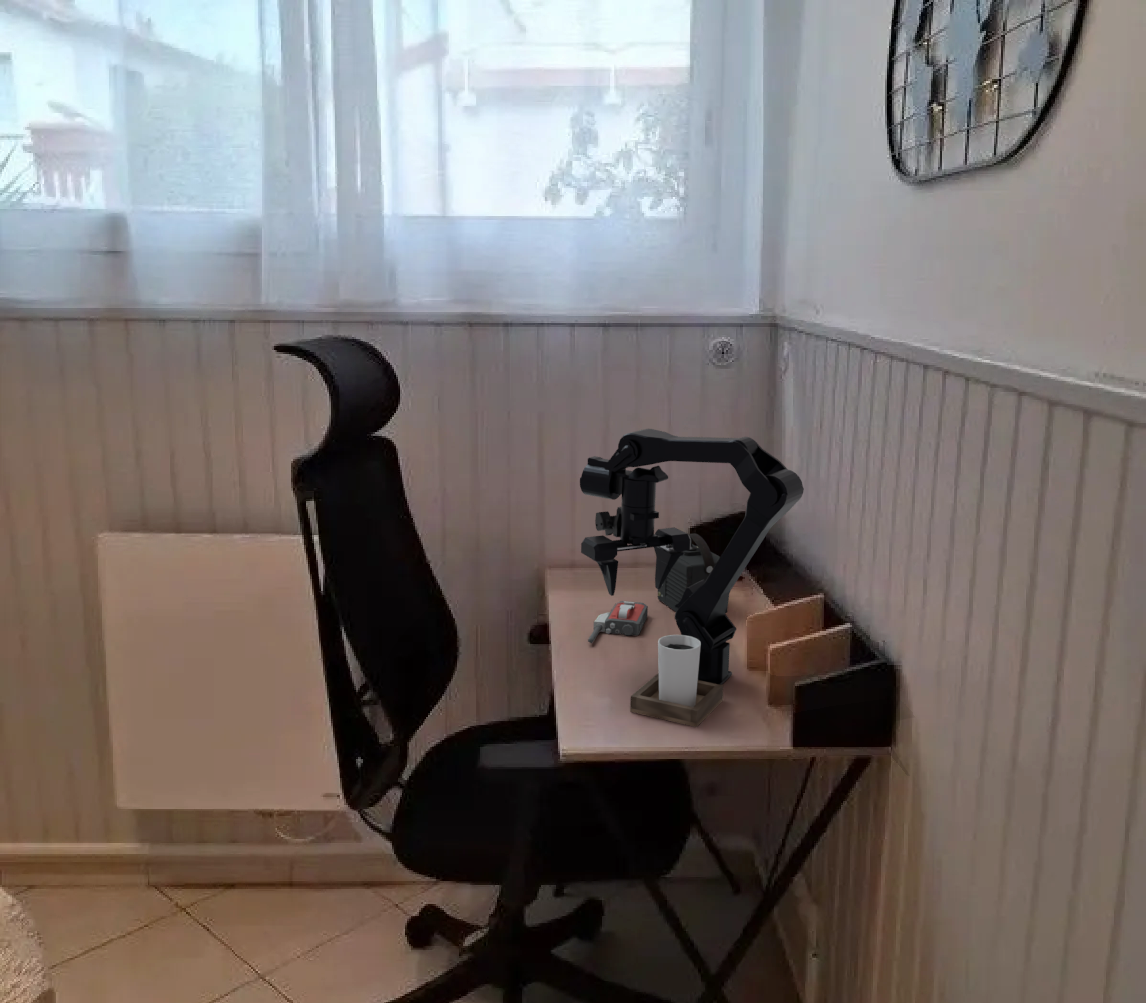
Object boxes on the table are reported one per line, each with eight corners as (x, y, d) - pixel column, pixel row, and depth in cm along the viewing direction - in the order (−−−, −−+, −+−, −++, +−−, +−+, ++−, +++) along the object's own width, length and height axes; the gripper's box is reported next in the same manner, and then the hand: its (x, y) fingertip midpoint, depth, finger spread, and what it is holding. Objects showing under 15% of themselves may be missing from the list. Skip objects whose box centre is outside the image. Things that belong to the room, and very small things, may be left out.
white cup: (659, 712, 161) (661, 650, 159) (652, 694, 167) (654, 635, 165) (702, 710, 161) (705, 649, 159) (693, 693, 168) (696, 634, 166)
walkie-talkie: (606, 612, 209) (584, 648, 190) (606, 591, 208) (584, 624, 189) (649, 616, 207) (632, 652, 188) (650, 594, 206) (632, 629, 187)
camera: (700, 593, 219) (703, 524, 216) (734, 614, 207) (737, 541, 203) (653, 599, 216) (655, 528, 212) (685, 621, 203) (687, 546, 200)
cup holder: (722, 700, 167) (723, 685, 166) (696, 727, 157) (697, 711, 157) (659, 686, 172) (659, 672, 171) (630, 711, 162) (630, 696, 162)
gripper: (661, 489, 188) (657, 572, 192) (567, 497, 180) (565, 584, 184) (694, 503, 179) (690, 590, 182) (597, 513, 170) (595, 604, 174)
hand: (634, 591), depth 181 cm, fingers open, 9 cm apart
